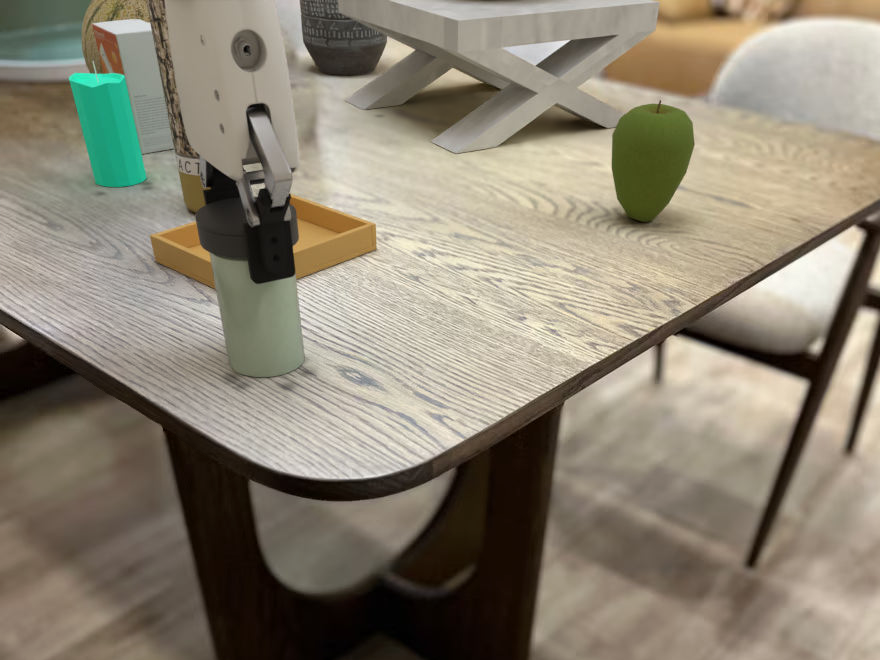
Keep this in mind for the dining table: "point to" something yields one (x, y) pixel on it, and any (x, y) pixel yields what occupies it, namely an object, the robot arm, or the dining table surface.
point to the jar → (258, 320)
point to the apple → (650, 158)
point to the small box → (137, 77)
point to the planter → (339, 39)
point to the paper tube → (175, 110)
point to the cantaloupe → (107, 5)
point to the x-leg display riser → (502, 56)
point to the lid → (229, 227)
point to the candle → (108, 128)
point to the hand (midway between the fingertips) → (252, 258)
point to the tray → (318, 246)
